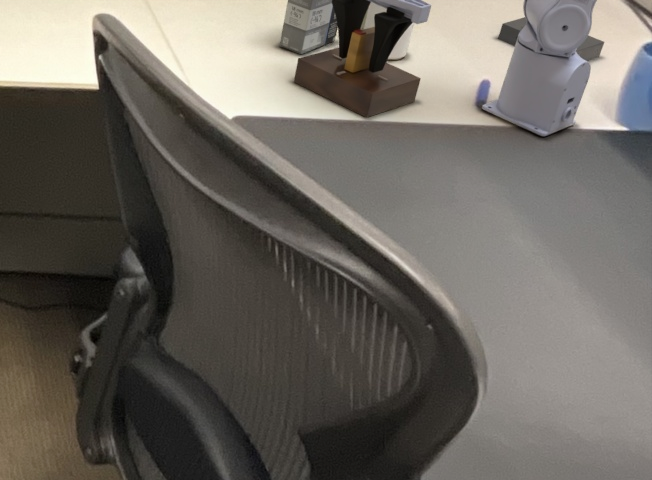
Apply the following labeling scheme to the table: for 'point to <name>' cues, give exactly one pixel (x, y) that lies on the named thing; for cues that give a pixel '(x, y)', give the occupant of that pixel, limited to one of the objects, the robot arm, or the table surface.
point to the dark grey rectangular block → (585, 50)
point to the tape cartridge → (308, 25)
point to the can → (404, 40)
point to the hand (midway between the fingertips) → (360, 63)
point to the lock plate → (356, 83)
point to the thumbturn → (360, 50)
